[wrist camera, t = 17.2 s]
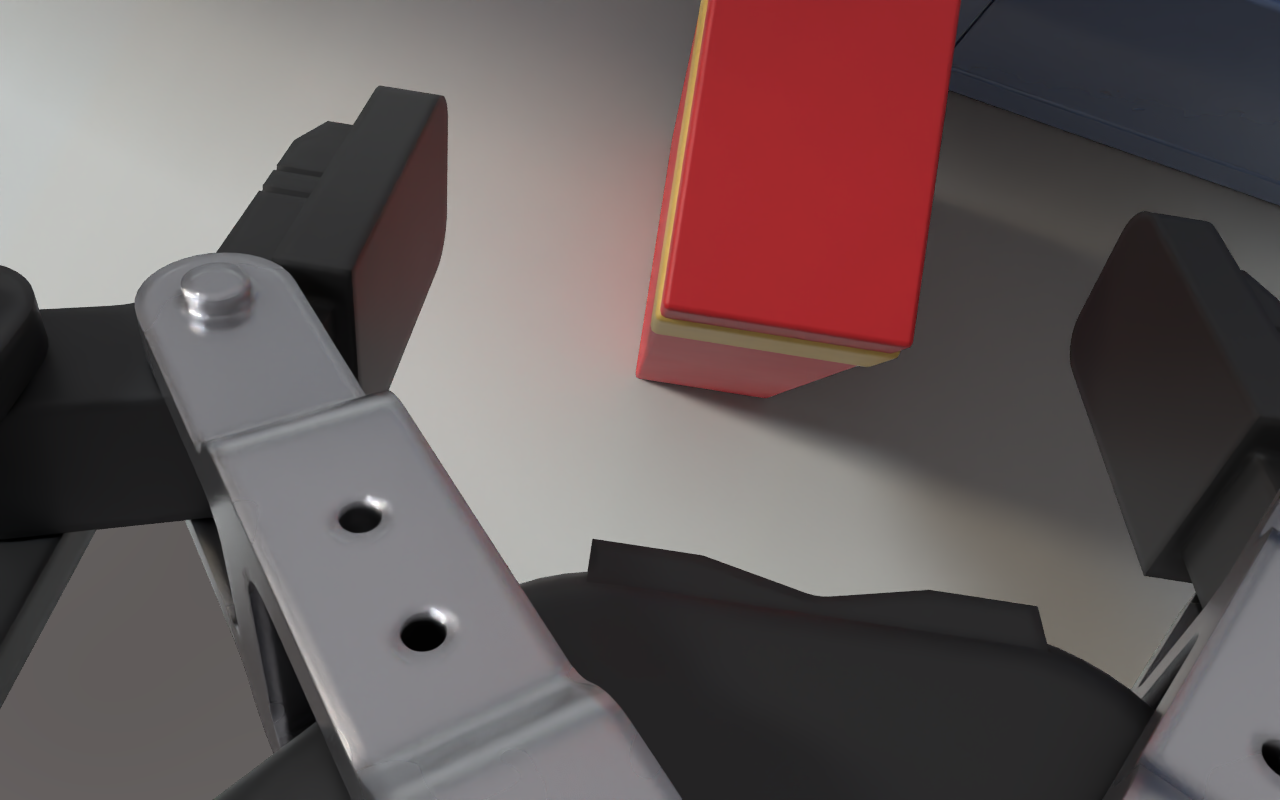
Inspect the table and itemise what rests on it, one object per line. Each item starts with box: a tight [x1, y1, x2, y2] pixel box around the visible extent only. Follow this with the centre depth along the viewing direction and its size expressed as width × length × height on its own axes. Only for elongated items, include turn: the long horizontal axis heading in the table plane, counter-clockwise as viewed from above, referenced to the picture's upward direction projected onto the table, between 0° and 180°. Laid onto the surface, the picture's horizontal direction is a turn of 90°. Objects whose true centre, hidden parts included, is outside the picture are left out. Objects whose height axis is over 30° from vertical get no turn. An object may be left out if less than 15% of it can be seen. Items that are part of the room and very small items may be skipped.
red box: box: [636, 0, 961, 398], centre depth 16 cm, size 3×5×10 cm, turn 171°
